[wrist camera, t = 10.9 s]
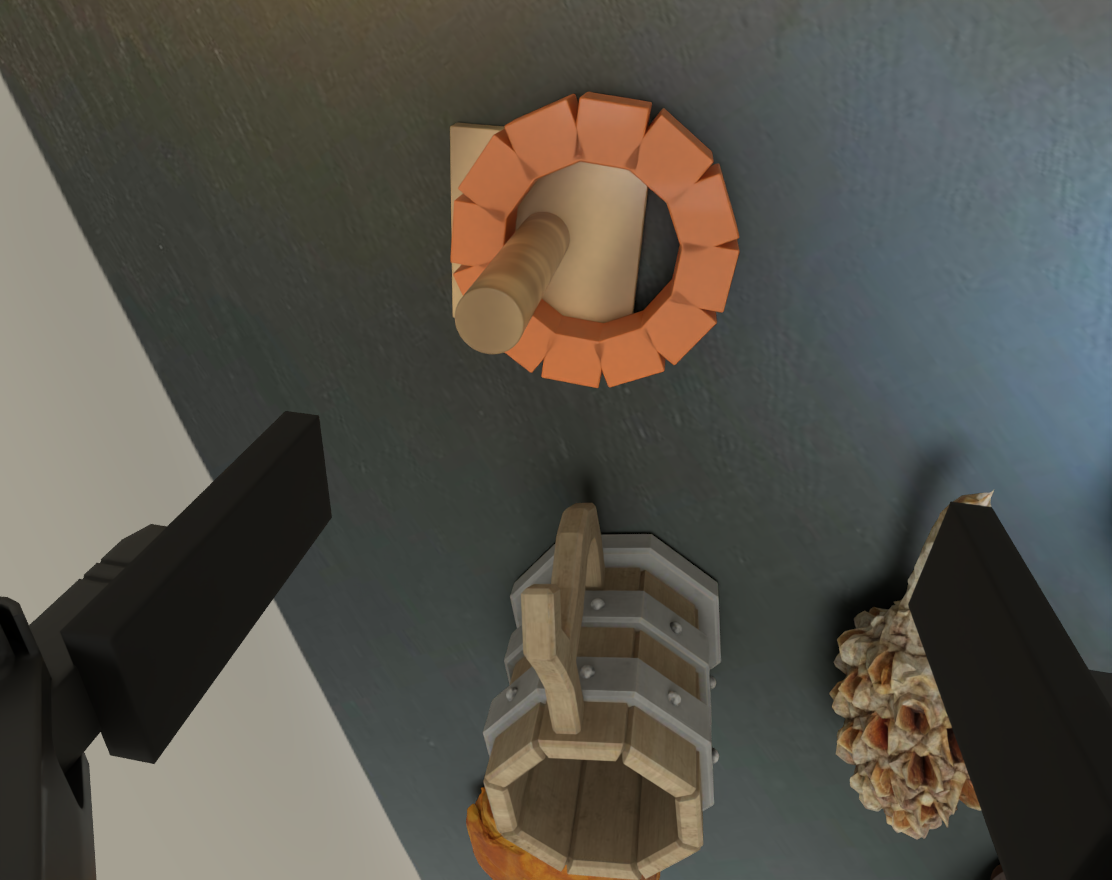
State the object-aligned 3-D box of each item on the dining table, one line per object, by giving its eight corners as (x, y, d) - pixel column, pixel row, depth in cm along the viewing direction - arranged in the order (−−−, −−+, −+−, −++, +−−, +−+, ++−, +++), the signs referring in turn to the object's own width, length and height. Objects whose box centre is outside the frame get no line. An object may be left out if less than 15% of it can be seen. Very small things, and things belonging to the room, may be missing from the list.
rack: (654, 139, 32) (636, 197, 22) (631, 329, 37) (608, 452, 26) (456, 122, 33) (350, 170, 23) (458, 309, 38) (370, 421, 27)
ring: (767, 120, 30) (772, 128, 28) (697, 386, 36) (697, 408, 34) (476, 73, 31) (460, 76, 29) (457, 340, 37) (444, 359, 35)
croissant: (648, 724, 54) (643, 814, 47) (670, 875, 60) (669, 977, 52) (464, 727, 57) (432, 812, 50) (501, 870, 63) (477, 966, 55)
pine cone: (978, 726, 46) (1042, 884, 38) (819, 725, 49) (846, 875, 40) (1017, 424, 36) (1118, 548, 28) (813, 440, 38) (849, 560, 30)
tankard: (722, 684, 48) (733, 926, 35) (536, 680, 51) (484, 903, 38) (710, 418, 39) (720, 616, 26) (482, 429, 41) (388, 614, 28)
